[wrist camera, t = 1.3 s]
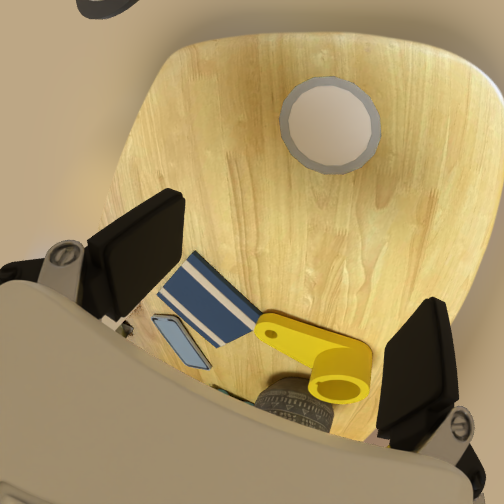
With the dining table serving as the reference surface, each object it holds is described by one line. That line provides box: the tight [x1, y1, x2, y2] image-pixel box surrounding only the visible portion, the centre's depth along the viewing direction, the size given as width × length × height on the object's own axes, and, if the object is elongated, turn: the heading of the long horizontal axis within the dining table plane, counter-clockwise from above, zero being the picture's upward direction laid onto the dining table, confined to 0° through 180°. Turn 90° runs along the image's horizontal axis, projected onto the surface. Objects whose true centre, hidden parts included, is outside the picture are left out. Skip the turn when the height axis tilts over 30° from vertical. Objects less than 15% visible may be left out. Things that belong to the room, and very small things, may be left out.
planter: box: [254, 377, 334, 433], centre depth 40 cm, size 14×14×15 cm
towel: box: [157, 251, 263, 348], centre depth 41 cm, size 14×14×1 cm
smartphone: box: [151, 315, 211, 370], centre depth 50 cm, size 7×1×15 cm
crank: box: [254, 313, 372, 404], centre depth 34 cm, size 18×8×6 cm, turn 71°
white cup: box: [279, 76, 381, 175], centre depth 18 cm, size 7×7×7 cm
